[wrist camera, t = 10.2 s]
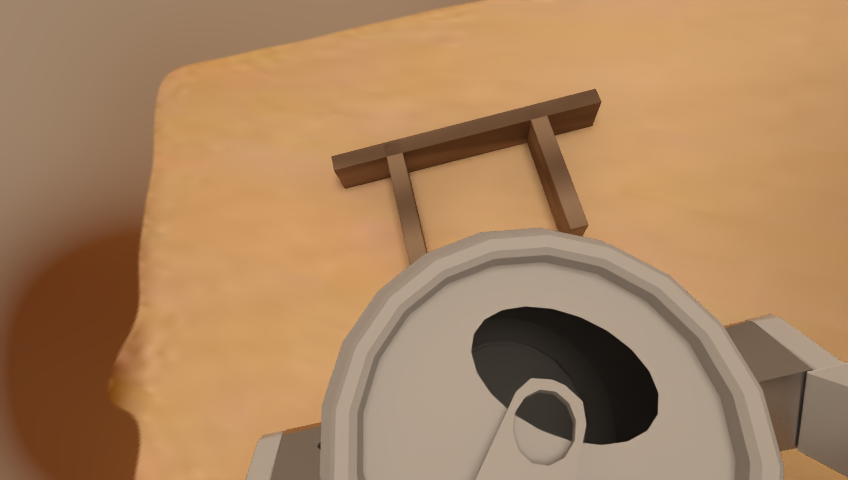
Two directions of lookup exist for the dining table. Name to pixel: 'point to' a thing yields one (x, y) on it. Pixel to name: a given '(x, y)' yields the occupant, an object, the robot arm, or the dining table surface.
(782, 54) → the dining table surface
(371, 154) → the walnut cradle
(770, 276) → the dining table surface
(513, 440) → the can
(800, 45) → the dining table surface
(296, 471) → the robot arm
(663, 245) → the dining table surface
